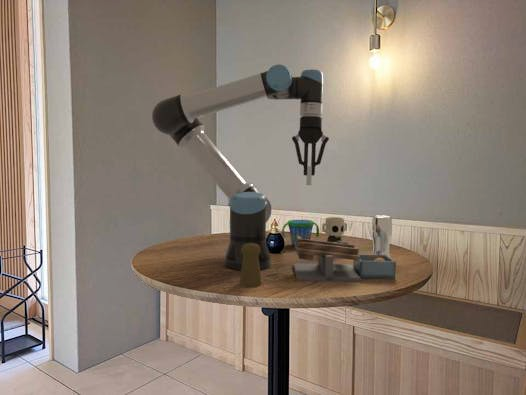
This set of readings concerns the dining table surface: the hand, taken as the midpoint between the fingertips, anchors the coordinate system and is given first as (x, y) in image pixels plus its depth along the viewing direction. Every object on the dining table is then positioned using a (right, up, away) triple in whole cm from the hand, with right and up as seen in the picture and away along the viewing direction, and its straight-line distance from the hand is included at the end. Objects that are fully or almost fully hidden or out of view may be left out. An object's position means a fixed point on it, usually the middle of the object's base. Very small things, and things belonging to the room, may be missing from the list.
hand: (308, 185), depth 138 cm
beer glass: (+26, -26, +3) cm, 37 cm away
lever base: (+3, -27, -18) cm, 33 cm away
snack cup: (0, -24, +25) cm, 35 cm away
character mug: (+11, -25, +13) cm, 31 cm away
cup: (+17, -28, -19) cm, 38 cm away
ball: (+19, -25, -19) cm, 36 cm away
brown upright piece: (-19, -28, -30) cm, 46 cm away
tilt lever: (+3, -23, -15) cm, 27 cm away
